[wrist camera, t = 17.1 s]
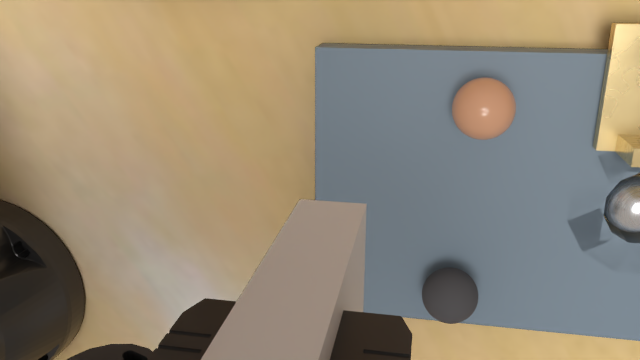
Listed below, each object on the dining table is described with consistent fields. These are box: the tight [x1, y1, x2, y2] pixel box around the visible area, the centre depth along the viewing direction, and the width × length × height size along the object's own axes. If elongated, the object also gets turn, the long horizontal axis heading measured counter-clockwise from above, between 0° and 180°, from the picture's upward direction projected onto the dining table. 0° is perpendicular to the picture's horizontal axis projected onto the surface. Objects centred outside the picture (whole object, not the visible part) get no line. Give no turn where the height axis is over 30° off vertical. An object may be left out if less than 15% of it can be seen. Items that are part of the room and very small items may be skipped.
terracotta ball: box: [452, 77, 516, 140], centre depth 34 cm, size 4×4×4 cm
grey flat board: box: [315, 43, 640, 341], centre depth 38 cm, size 28×18×2 cm, turn 89°
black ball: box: [422, 267, 478, 324], centre depth 38 cm, size 4×4×4 cm
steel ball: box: [604, 175, 640, 233], centre depth 36 cm, size 4×4×4 cm
